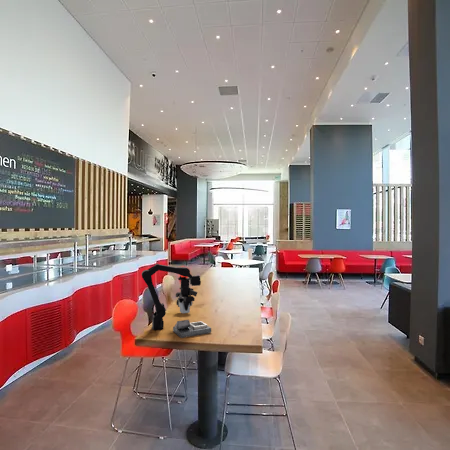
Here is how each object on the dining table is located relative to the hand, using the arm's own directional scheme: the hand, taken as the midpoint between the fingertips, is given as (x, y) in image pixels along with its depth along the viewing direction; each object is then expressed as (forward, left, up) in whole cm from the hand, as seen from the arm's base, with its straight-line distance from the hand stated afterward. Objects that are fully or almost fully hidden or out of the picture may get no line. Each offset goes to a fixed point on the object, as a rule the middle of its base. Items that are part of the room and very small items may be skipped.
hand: (184, 309), depth 207 cm
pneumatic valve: (+13, +32, -11) cm, 36 cm away
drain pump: (0, 0, -2) cm, 2 cm away
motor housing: (0, -13, -11) cm, 17 cm away
